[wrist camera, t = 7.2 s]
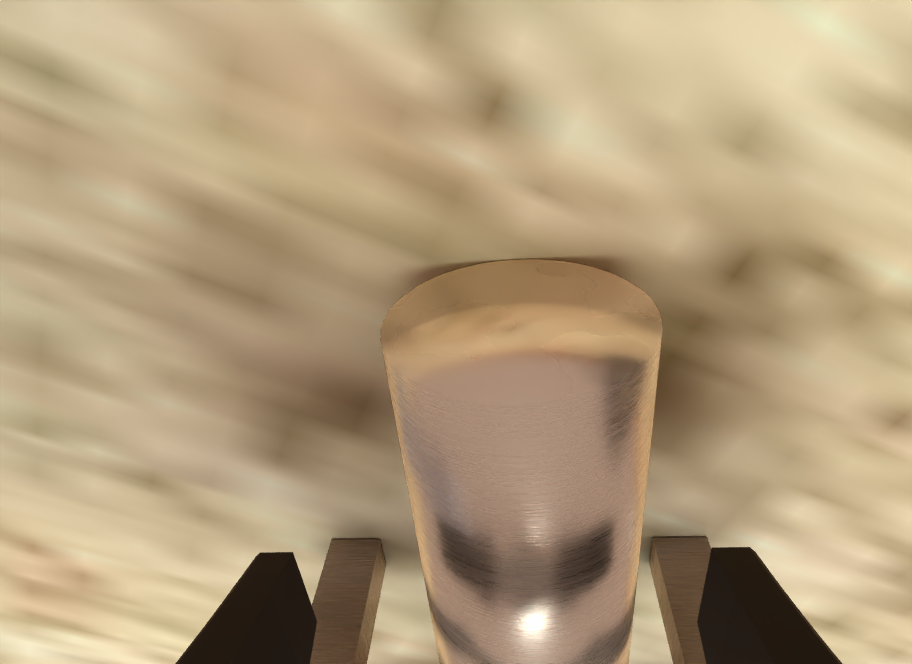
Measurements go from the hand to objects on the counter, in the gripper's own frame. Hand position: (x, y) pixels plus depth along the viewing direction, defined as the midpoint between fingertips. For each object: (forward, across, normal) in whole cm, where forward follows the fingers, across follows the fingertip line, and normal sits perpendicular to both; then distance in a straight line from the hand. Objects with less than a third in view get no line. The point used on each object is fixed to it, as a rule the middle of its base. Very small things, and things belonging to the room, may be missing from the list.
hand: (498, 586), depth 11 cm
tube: (+5, 0, +5) cm, 7 cm away
